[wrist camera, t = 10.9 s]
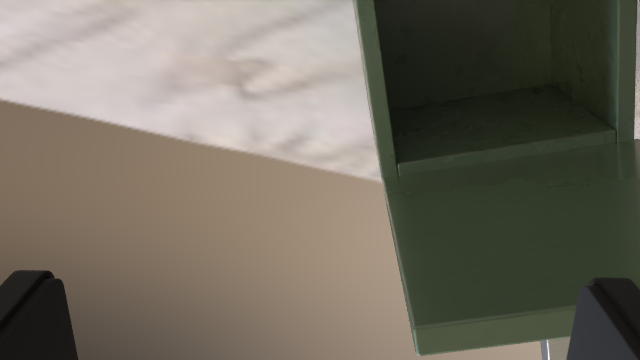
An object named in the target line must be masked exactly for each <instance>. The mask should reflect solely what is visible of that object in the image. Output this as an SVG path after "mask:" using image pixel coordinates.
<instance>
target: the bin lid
mask: <svg viewBox="0 0 640 360" xmlns="http://www.w3.org/2000/svg"><path fill="white" fill-rule="evenodd" d="M382 182H383V188H384V195H385V199H386V205H387V210H388V215H389V220H390V225H391V230H392V235H393V240H394V245H395V250H396V255H397V260H398V265H399V270H400V275H401V280H402V285H403V290H404V295H405V301H406V306H407V310H408V315H409V321H410V325H411V331H412V335H413V340H414V346H415V350H416V353H417V355H418V356H423V355H432V354H440V353H448V352H456V351H464V350H472V349H480V348H488V347H496V346H504V345H512V344H520V343H528V342H535V341H541V352H542V360H566V358H567V353H568V348H569V342H570V337H571V332H572V327H573V322H574V316H575V311H576V306H577V301H578V296H579V292H580V289H581V287H582V286H584V285H589V284H590V282H591V280H592V279H593V278H595V277H615V278H629V279H631V280H632V281H633V282H634V283H635V285H636V286H637V287H638V288H639V289H640V139H634V140H627V141H621V142H614V143H608V144H601V145H595V146H588V147H582V148H575V149H569V150H562V151H556V152H549V153H543V154H536V155H530V156H523V157H517V158H510V159H504V160H497V161H490V162H484V163H477V164H471V165H464V166H458V167H451V168H445V169H438V170H432V171H425V172H419V173H412V174H406V175H399V176H393V177H386V178H383V179H382Z"/></svg>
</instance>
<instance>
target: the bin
mask: <svg viewBox="0 0 640 360" xmlns="http://www.w3.org/2000/svg"><path fill="white" fill-rule="evenodd" d="M353 4H354V11H355V17H356V24H357V30H358V37H359V44H360V50H361V57H362V64H363V70H364V77H365V83H366V90H367V97H368V103H369V110H370V117H371V123H372V128H373V134H374V139H375V145H376V150H377V155H378V161H379V166H380V172H381V177H382V179H383V178H386V177H393V176H399V175H406V174H412V173H419V172H425V171H432V170H438V169H445V168H451V167H458V166H464V165H471V164H477V163H484V162H490V161H497V160H504V159H510V158H517V157H523V156H530V155H536V154H543V153H549V152H556V151H562V150H569V149H575V148H582V147H588V146H595V145H601V144H608V143H614V142H621V141H627V140H634V116H635V69H636V23H637V0H353Z"/></svg>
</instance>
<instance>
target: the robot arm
mask: <svg viewBox="0 0 640 360" xmlns="http://www.w3.org/2000/svg"><path fill="white" fill-rule="evenodd" d="M0 360H78V356H77V351H76V346H75V341H74V335H73V330H72V325H71V320H70V314H69V309H68V304H67V299H66V294H65V289H64V285H63V282H62V281H61V280H60V279H55V278H54V275H53V274H52V272H50V271H36V270H31V271H30V270H19V271H15V272H13V273H12V274H11V275H10V276H9V277H8V278H7V279H6V280H5V281H4V283H3V284H2V285H1V286H0ZM566 360H640V289H639V288H638V287H637V286H636V285H635V283H634V282H633V281H632V280H631V279H629V278H615V277H595V278H593V279H592V280H591V282H590V284H589V285H584V286H582V287H581V289H580V292H579V296H578V301H577V306H576V311H575V316H574V322H573V327H572V332H571V337H570V342H569V348H568V353H567V358H566Z"/></svg>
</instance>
